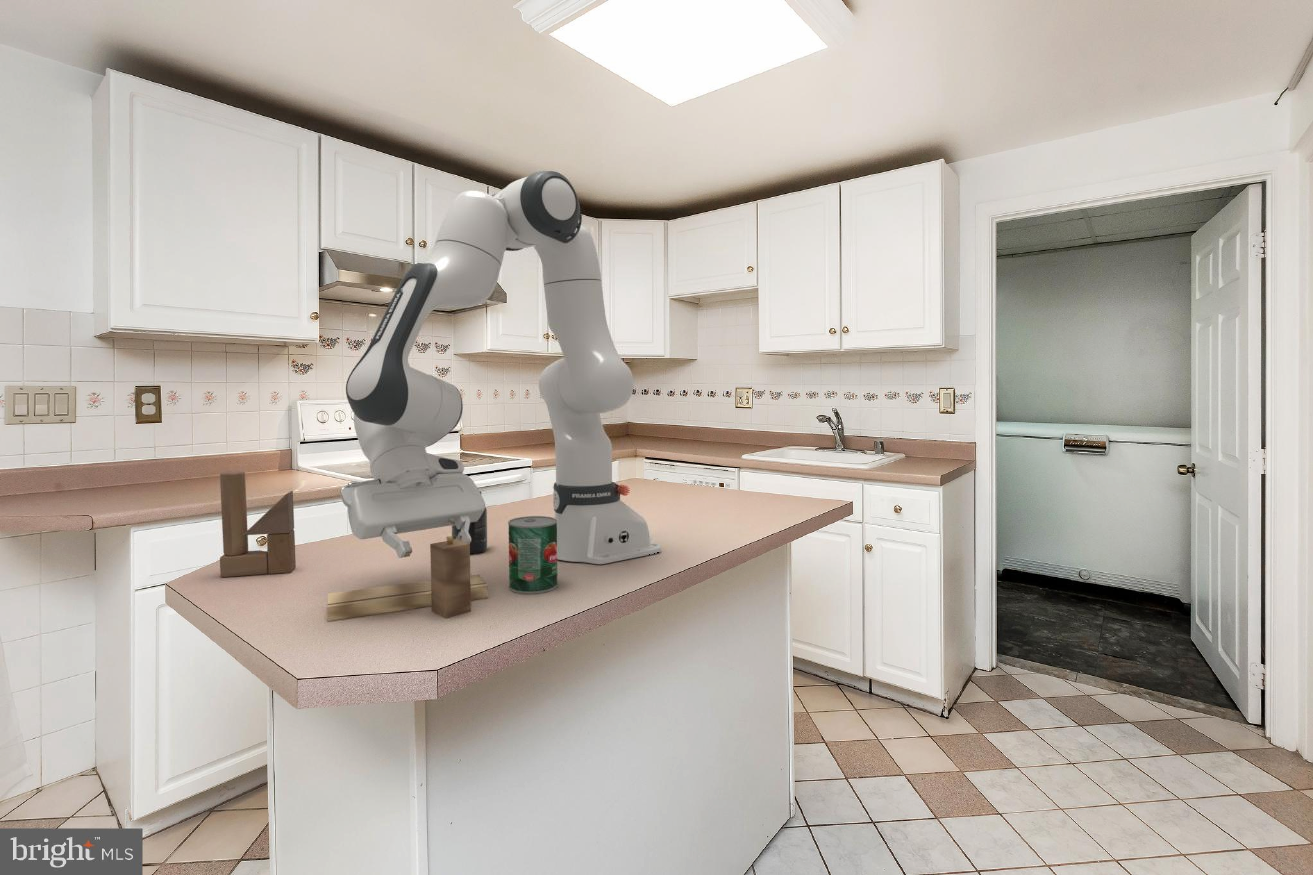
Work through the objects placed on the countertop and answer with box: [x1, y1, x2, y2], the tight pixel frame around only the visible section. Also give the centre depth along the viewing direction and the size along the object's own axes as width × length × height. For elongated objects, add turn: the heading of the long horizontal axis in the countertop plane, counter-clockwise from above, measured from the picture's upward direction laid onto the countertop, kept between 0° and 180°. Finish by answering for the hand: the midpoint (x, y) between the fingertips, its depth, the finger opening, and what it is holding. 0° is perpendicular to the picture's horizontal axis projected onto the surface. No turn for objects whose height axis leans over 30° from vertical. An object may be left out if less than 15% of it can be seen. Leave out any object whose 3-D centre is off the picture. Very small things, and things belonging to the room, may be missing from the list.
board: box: [326, 574, 489, 622], centre depth 94 cm, size 22×6×2 cm, turn 117°
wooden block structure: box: [219, 470, 297, 578], centre depth 108 cm, size 4×11×18 cm, turn 107°
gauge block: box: [429, 535, 472, 619], centre depth 90 cm, size 4×4×11 cm
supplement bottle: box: [451, 490, 488, 556], centre depth 124 cm, size 7×7×12 cm
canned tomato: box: [507, 515, 559, 595], centre depth 101 cm, size 8×8×11 cm
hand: (437, 549), depth 92 cm, fingers open, 8 cm apart
